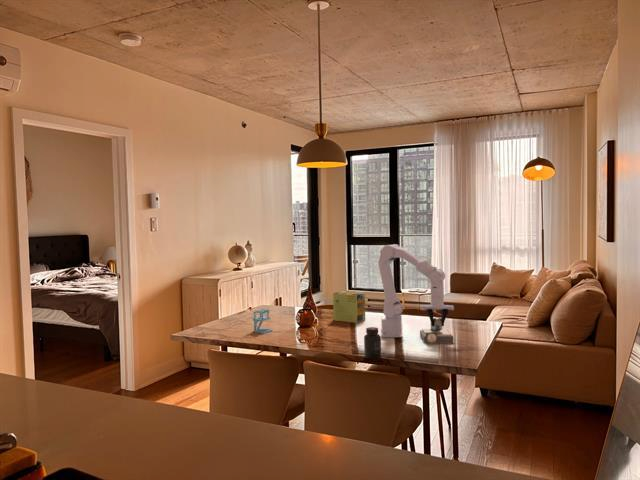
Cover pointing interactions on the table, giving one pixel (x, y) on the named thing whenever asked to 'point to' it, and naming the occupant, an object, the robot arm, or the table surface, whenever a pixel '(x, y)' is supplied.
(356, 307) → the protein box
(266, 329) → the teal open frame stand
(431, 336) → the scale
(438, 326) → the cylinder
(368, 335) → the supplement bottle
